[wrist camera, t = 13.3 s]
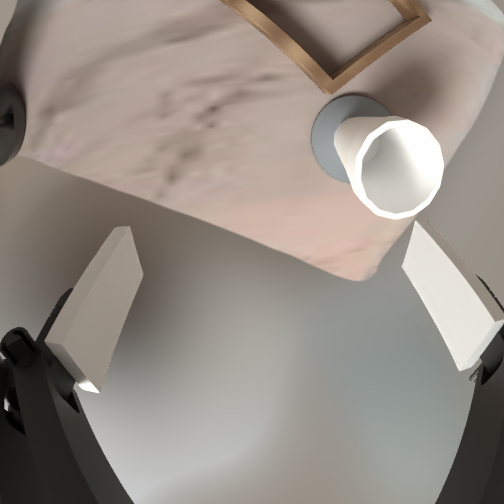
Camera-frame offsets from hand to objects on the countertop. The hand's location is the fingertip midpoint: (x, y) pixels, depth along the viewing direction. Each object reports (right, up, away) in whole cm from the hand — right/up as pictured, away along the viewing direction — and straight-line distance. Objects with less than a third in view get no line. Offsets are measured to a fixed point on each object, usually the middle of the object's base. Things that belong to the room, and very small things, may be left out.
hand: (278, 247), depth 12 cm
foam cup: (+12, +14, +20) cm, 28 cm away
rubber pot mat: (+12, +14, +21) cm, 28 cm away
